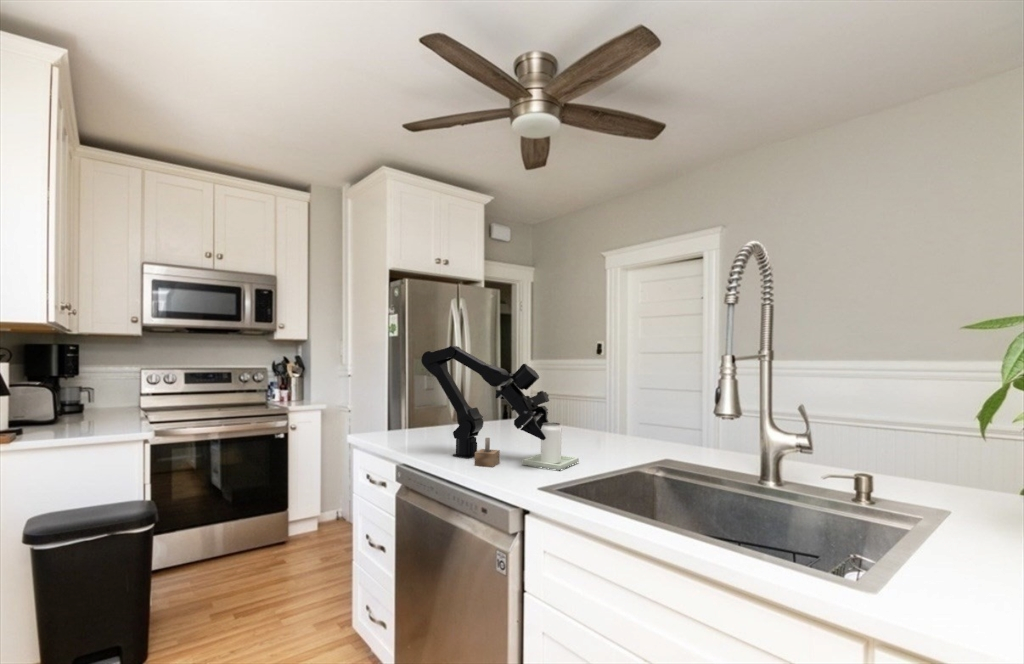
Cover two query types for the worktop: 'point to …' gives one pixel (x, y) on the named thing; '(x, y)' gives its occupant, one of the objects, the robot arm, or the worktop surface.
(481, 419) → the robot arm
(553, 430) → the can
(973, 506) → the worktop surface
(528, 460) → the tray
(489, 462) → the wooden peg block
